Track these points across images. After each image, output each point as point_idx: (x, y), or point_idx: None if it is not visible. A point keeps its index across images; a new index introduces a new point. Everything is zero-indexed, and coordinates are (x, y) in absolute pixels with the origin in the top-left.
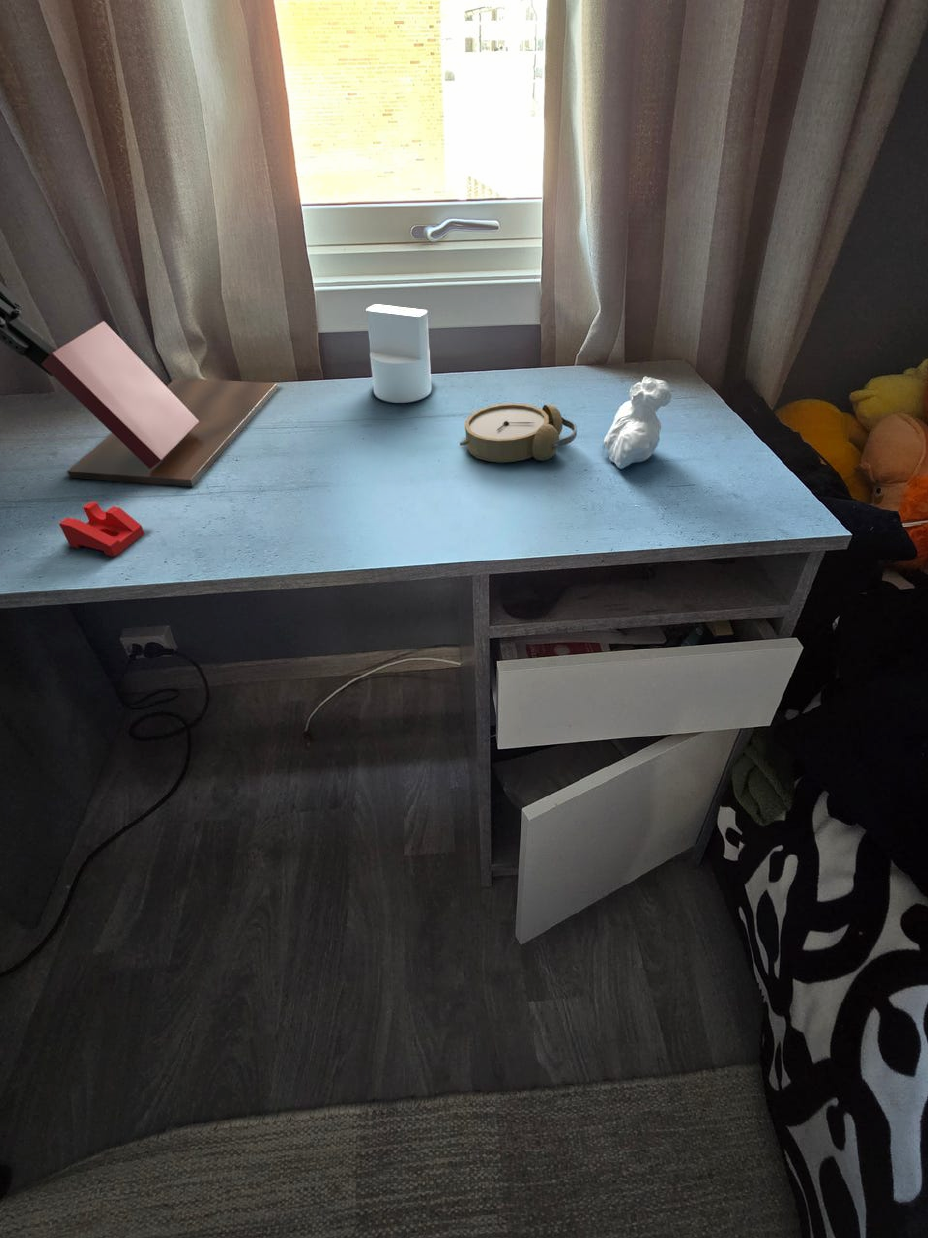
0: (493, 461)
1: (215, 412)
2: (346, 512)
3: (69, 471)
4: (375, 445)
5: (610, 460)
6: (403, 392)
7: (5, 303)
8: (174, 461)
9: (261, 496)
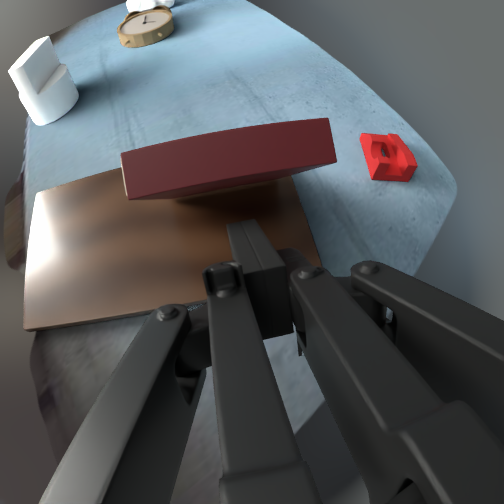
0: (173, 29)
1: (113, 204)
2: (260, 55)
3: None
4: (157, 74)
5: None
6: (75, 87)
7: (212, 317)
8: None
9: (264, 94)
